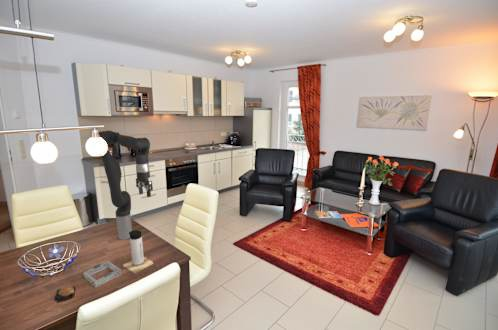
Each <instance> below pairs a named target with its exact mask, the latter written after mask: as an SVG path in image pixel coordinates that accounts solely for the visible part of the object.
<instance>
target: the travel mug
mask: <svg viewBox="0 0 498 330" xmlns="http://www.w3.org/2000/svg"><path fill="white" fill-rule="evenodd" d="M129 234H130V238H129V242H130V253H131V254H130V255H131V260H132V264H133V265H134V266H139V265H142V264H143V263H144V257H145V256H144V245H143V235H142V231H141V230H137V229H135V230H132V231H131V232H129Z"/></svg>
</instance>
